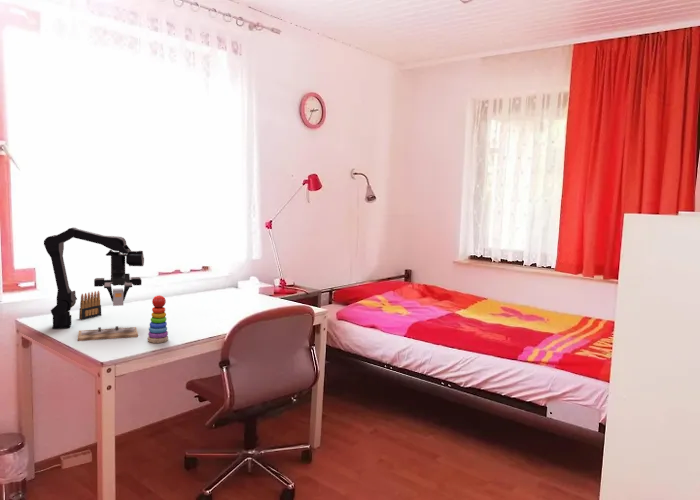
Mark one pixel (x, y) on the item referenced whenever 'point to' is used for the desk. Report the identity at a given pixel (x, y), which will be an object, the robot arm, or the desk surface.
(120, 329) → the rail base
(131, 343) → the desk surface
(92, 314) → the ammunition clip
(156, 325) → the stacking toy
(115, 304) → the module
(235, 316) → the desk surface
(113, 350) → the desk surface
